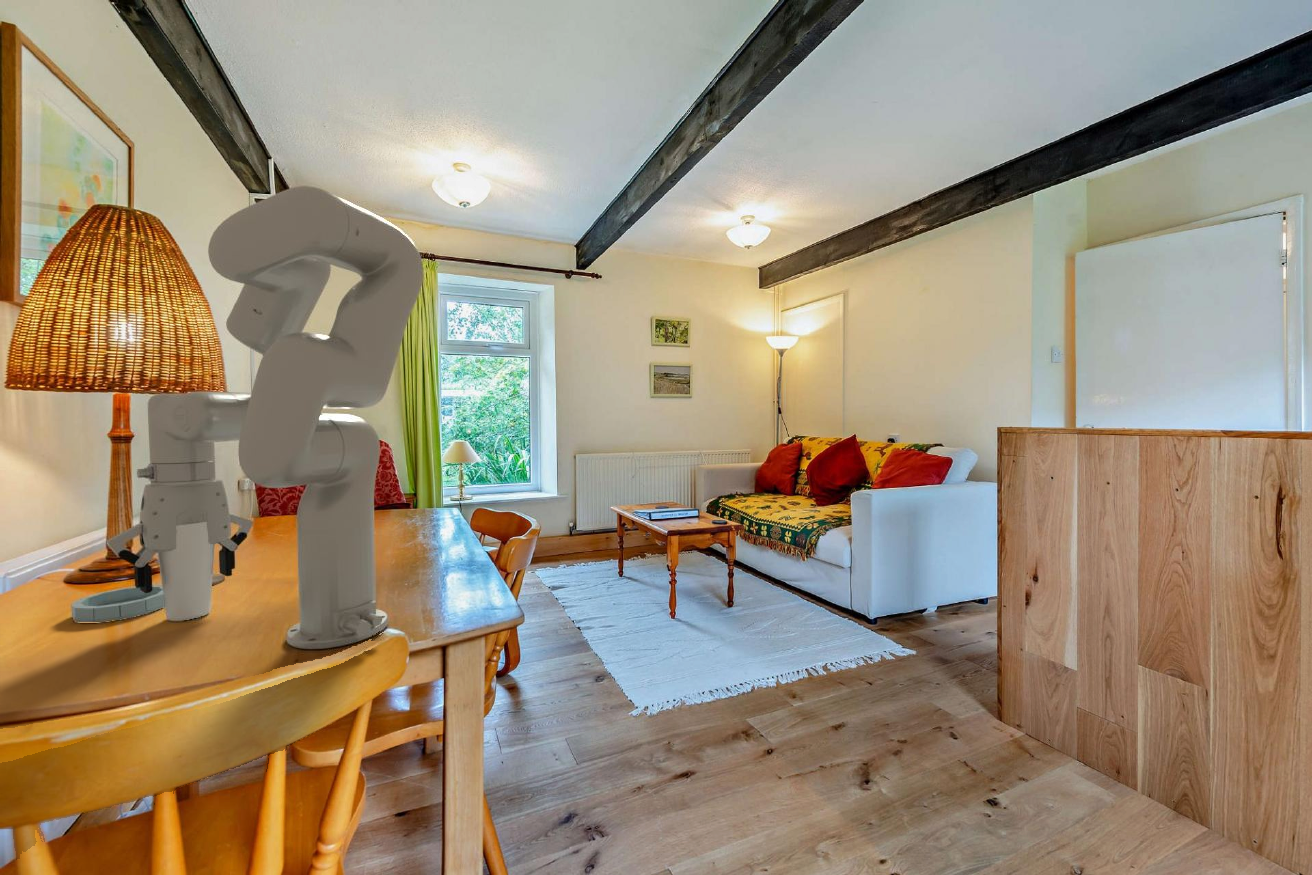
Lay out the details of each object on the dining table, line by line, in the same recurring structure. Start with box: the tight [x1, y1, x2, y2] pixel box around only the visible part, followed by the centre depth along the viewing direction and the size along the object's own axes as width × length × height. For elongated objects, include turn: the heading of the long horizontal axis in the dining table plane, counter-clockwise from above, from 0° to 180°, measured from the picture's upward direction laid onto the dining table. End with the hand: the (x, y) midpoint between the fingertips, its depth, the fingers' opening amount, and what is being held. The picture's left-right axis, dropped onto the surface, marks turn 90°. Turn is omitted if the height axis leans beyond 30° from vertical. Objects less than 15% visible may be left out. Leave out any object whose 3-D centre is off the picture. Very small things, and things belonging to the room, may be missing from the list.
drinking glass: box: [156, 522, 216, 622], centre depth 83 cm, size 7×7×15 cm
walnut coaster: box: [212, 573, 226, 586], centre depth 99 cm, size 9×9×1 cm
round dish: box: [70, 584, 166, 622], centre depth 85 cm, size 11×11×2 cm
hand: (187, 582), depth 83 cm, fingers open, 9 cm apart
